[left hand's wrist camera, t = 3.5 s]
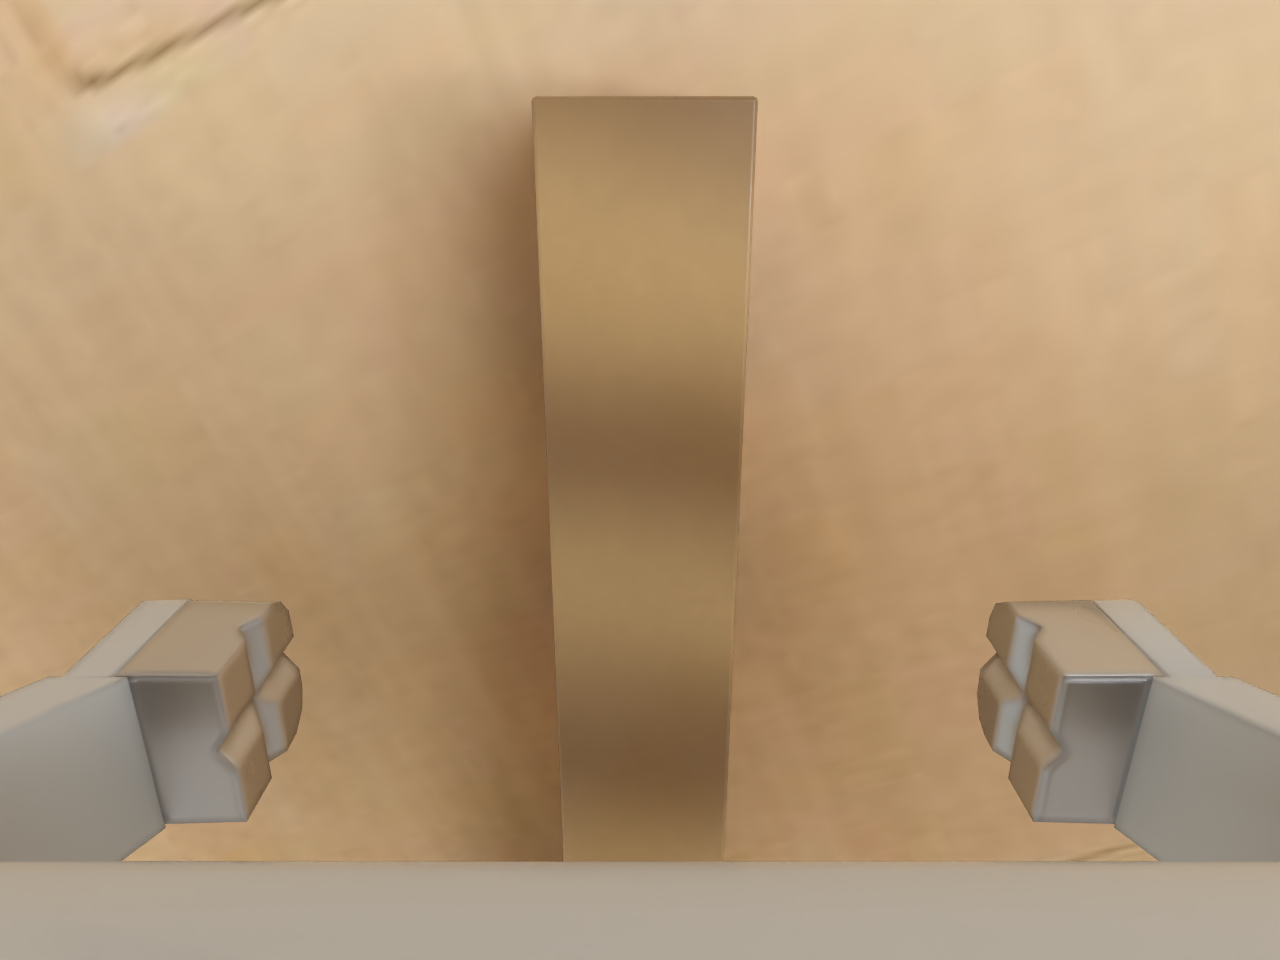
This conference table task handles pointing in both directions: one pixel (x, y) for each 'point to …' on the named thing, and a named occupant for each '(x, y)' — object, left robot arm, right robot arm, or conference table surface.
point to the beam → (644, 457)
